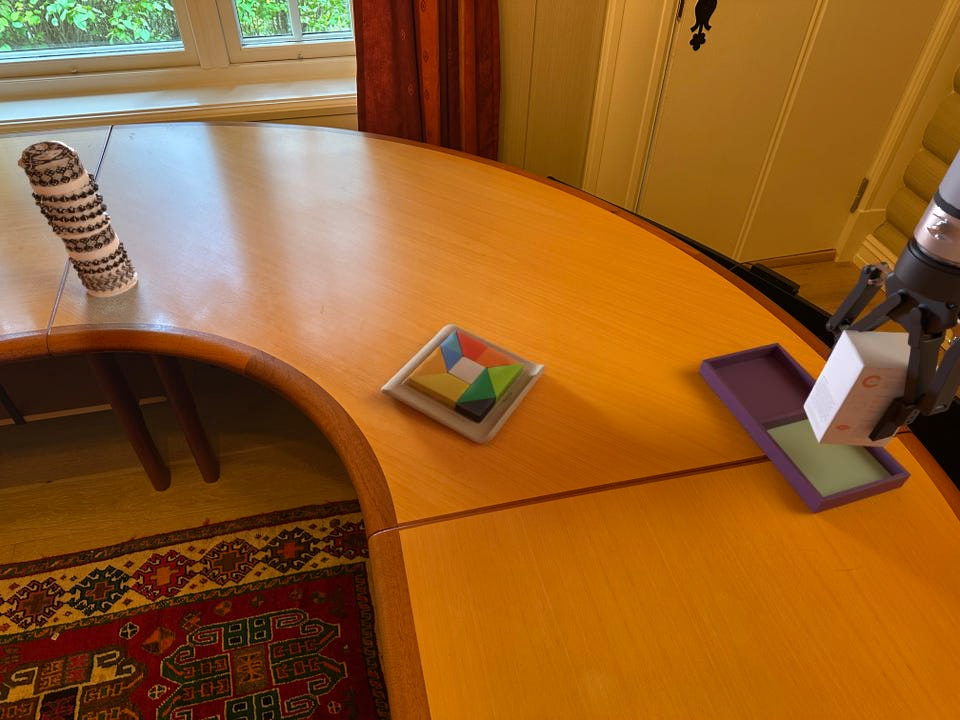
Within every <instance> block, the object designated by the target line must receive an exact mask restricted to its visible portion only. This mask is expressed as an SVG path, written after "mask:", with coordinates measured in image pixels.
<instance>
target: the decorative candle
mask: <svg viewBox="0 0 960 720" xmlns="http://www.w3.org/2000/svg"><path fill="white" fill-rule="evenodd" d="M78 153H79V152H78V150H77V149H76V148H75V147H73V146H68V145H66V144H65V143H64V142H62V141H58V140H57V141H56V140H46V141H40V142H36V143H33V144H31V145H29V146H27V147H26V148H24V150H22V153H21V157H20V158H19V160H17V166H18V167H20V168H21V169H23V170H24V174H25V175H26V176H27V178H28V180H29V185H30V187H31V189H32V190H33V192H32V193H31V197H32V198H33V199H34V200H35V206H37V207H39V208H40V214H41V215H43V216H44V218H46V220H47V225H48V226H50V227H51V228H52V233H54V235H55V236H57V237H58V238H60V239H61V241H62V243H63V244H64V245H65V247H64V248H65V251H66V252H67V254H68V260H69V262H71V264H72V265H73V266H72V268H73V269H74V270H75V271H76V272H77V278H78V279H79V280H80V281H81V285H82V286H83V287H84V288H85V290H86V292H87V293H88V294H89V295H90V296H92V297H96V298H111V297H113V296H119V295H121V294H124V293H125V292H127V291H130V289H132V288H133V287H134V286H135V285H136V284H137V282H138V280H139V277H138V273H137V272H136V270H135V266H134V265H133V264H132V259H131V258H129V256H128V251H127V250H126V249H125V247H124V242H122V241H121V240H120V239H119V237H118V235H117V233H116V232H115V231H114V229H113V227H112V225H111V222H112V220H111V216H110V214H108V213H106V212H107V210H108V209H107V208H108V206H107V204H106V203H103V202H104V196H103V195H101V194H99V193H97V192H98V191H99V184H98V183H95V180H96V179H95V175H94V174H92V173H90V172H88V171H87V169H86V168H85V167H84V166H83V164H82V161H81V159H80V158H79V154H78Z"/></svg>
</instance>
